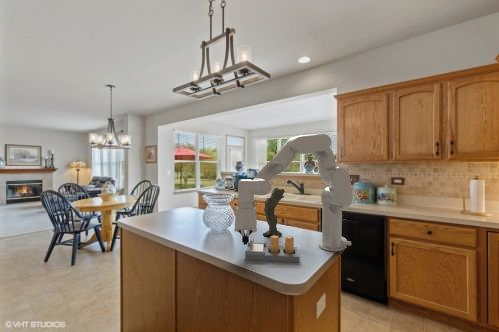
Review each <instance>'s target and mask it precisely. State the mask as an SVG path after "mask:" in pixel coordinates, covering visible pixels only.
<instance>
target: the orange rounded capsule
mask: <svg viewBox="0 0 499 332" xmlns="http://www.w3.org/2000/svg"><path fill="white" fill-rule="evenodd" d="M269 238H270V239H269V240H270V241H269V246H270V253H279V246H280V237H278V236H271V237H269Z"/></svg>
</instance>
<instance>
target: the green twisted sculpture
mask: <svg viewBox="0 0 499 332" xmlns="http://www.w3.org/2000/svg"><path fill="white" fill-rule="evenodd" d="M285 192H286V191H285V189H283V188H279V187H275V188H273V190H272V192H271V194H270V197H266V200H265V201H264V208H263V211H264V214H265V218H266V223H267V225H268V230H267V231H266V232H263V233H262V236H263V237H264V238H265V237H267V238H270V237H271V236H278V237H279V238H280V237H283V233H282V232H281V231H280V230H278V227H277V226H278V216H277V215H275V208H276V207H277V205H278V204H279V202H280V201H281V200H282V199H284V198H285V195H284V194H285Z"/></svg>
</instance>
